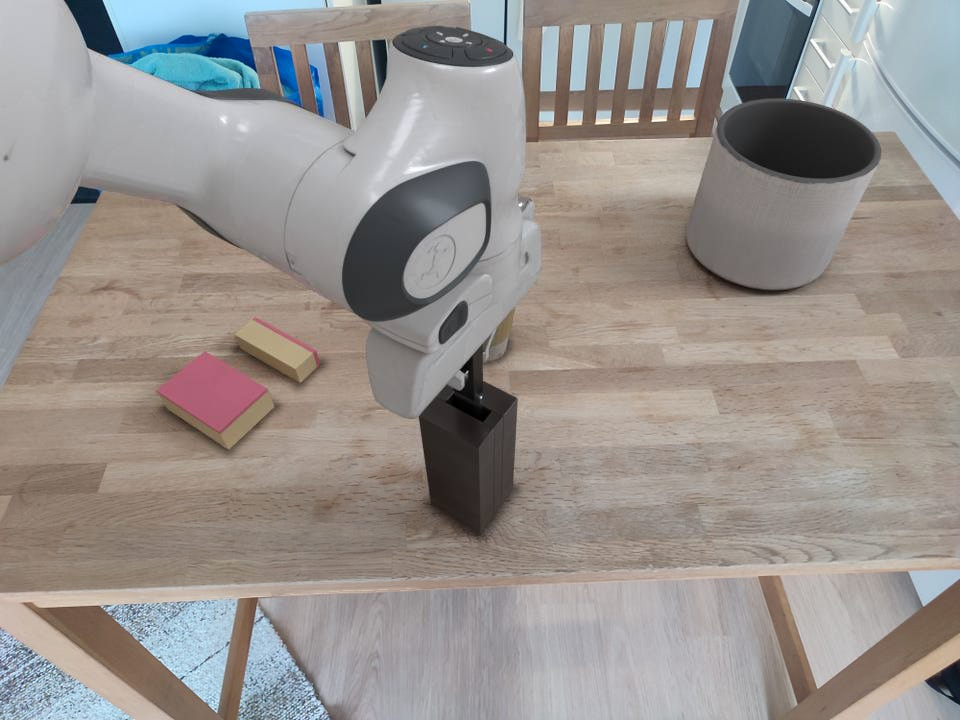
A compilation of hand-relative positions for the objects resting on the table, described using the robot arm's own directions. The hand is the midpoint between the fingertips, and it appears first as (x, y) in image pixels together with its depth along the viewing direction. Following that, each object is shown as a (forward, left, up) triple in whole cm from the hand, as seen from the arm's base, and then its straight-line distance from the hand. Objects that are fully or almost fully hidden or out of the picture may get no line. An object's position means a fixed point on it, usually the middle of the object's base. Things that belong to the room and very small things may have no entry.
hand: (467, 372), depth 60 cm
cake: (-7, +35, -23) cm, 43 cm away
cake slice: (+2, +35, -22) cm, 41 cm away
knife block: (0, 0, -23) cm, 23 cm away
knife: (0, 0, -21) cm, 21 cm away
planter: (+62, -13, -23) cm, 68 cm away
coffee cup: (+21, +12, -23) cm, 34 cm away
